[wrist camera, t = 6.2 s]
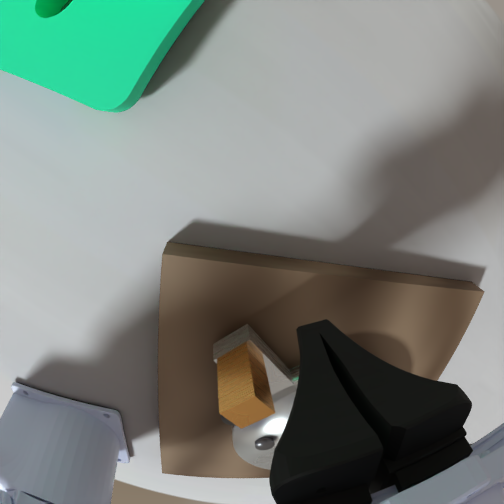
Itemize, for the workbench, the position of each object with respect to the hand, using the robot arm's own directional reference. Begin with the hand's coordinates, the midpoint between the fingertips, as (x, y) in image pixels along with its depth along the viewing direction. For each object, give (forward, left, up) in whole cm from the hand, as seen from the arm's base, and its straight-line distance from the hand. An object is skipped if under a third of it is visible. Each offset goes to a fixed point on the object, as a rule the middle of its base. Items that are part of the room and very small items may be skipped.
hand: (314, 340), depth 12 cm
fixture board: (+3, -8, -4) cm, 10 cm away
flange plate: (+2, -7, -2) cm, 7 cm away
